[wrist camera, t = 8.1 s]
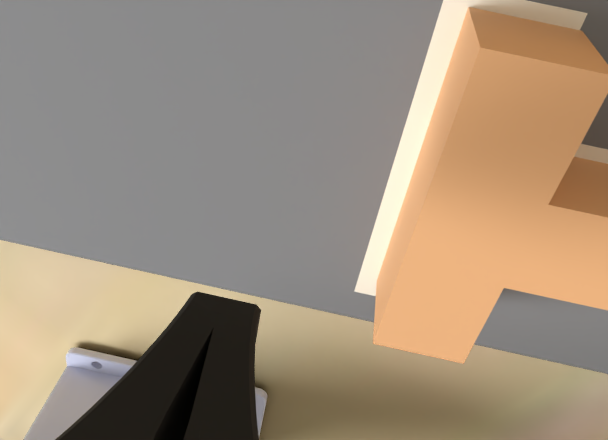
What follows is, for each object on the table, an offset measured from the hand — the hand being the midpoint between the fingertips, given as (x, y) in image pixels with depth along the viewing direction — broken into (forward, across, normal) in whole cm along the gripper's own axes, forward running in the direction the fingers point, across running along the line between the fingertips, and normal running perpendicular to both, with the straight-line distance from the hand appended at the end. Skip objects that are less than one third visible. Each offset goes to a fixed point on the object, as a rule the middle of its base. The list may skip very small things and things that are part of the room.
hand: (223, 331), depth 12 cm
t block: (+8, -9, 0) cm, 12 cm away
